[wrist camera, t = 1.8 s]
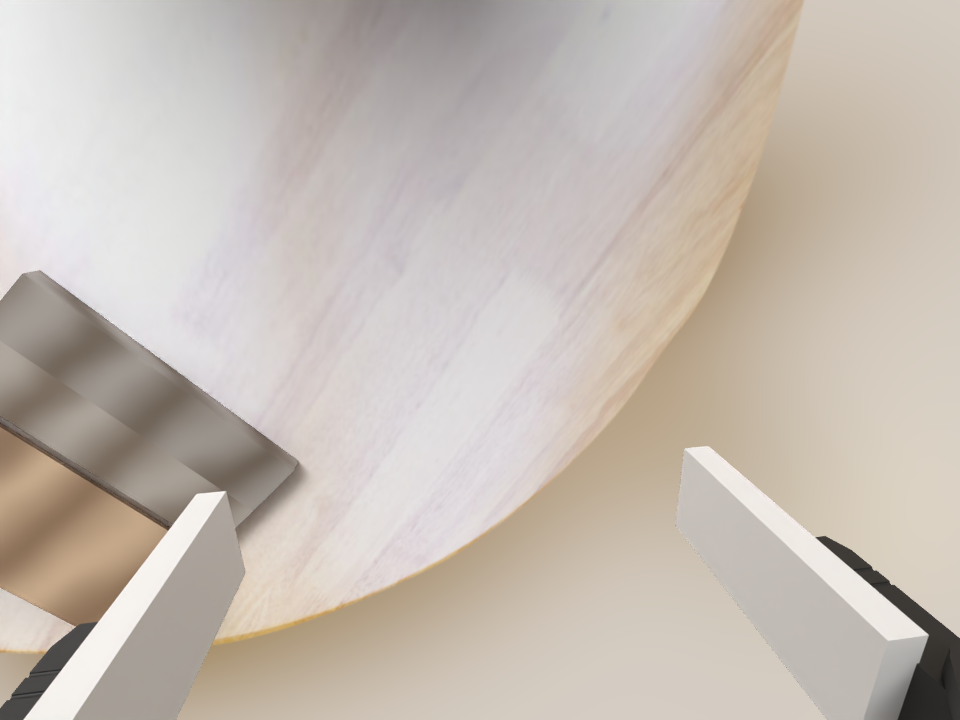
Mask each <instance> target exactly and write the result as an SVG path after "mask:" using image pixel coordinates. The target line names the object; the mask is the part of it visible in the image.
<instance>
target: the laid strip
mask: <svg viewBox="0 0 960 720" xmlns="http://www.w3.org/2000/svg"><path fill="white" fill-rule="evenodd" d="M0 416H1V417H2V418H4V419H5V420H7V421H9V422H10V423H12V424H13V425H15V426H17V427H18V428H20V429H21V430H23V431H25V432H26V433H28V434H29V435H31V436H33V437H34V438H36V439H37V440H39V441H41V442H42V443H44V444H45V445H47V446H49V447H50V448H52V449H53V450H55V451H57V452H58V453H60V454H61V455H63V456H65V457H66V458H68V459H69V460H71V461H72V462H74V463H76V464H77V465H79V466H80V467H82V468H84V469H85V470H87V471H88V472H90V473H92V474H93V475H95V476H96V477H98V478H100V479H101V480H103V481H104V482H106V483H108V484H109V485H111V486H112V487H114V488H116V489H117V490H119V491H120V492H122V493H124V494H125V495H127V496H128V497H130V498H132V499H133V500H135V501H136V502H138V503H140V504H141V505H143V506H144V507H146V508H148V509H149V510H151V511H152V512H154V513H156V514H157V515H159V516H160V517H162V518H164V519H165V520H167V521H168V522H170V523H172V524H174V523H175V521H176V520H177V519H178V518H179V516H180V515H181V514H182V512H183V511H184V510H185V508H186V507H187V506H188V504H189V503H190V502H191V501H192V499H193V498H194V497H195V495H196V494H200V493H211V492H222V491H226V492H227V497H228V501H229V505H230V509H231V513H232V517H233V522H234V526H235V528H236V527H237V526H238V525H239V524H240V523H241V522H242V521H243V520H244V519H246V518H247V517H248V516H249V515H250V514H251V513H252V512H253V511H254V510H255V509H256V508H257V507H258V506H259V505H260V504H261V503H262V502H263V501H264V500H265V499H266V498H267V497H268V496H269V495H270V494H271V493H272V492H273V491H274V490H275V489H276V488H277V487H278V486H279V485H280V484H281V483H282V482H283V481H284V480H285V479H286V478H287V477H288V476H289V475H290V474H291V473H292V472H293V471H294V469H295V467H296V465H297V463H298V461H297V460H296V459H295V458H293V457H292V456H291V455H289V454H288V453H287V452H285V451H284V450H282V449H281V448H280V447H278V446H277V445H276V444H274V443H273V442H272V441H270V440H269V439H268V438H266V437H265V436H263V435H262V434H261V433H259V432H258V431H257V430H255V429H254V428H253V427H251V426H250V425H249V424H247V423H246V422H244V421H243V420H242V419H240V418H239V417H238V416H236V415H235V414H234V413H232V412H231V411H230V410H228V409H227V408H226V407H224V406H223V405H221V404H220V403H219V402H217V401H216V400H215V399H213V398H212V397H211V396H209V395H208V394H207V393H205V392H204V391H202V390H201V389H200V388H198V387H197V386H196V385H194V384H193V383H192V382H190V381H189V380H188V379H186V378H185V377H183V376H182V375H181V374H179V373H178V372H177V371H175V370H174V369H173V368H171V367H170V366H169V365H167V364H166V363H164V362H163V361H162V360H160V359H159V358H158V357H156V356H155V355H154V354H152V353H151V352H150V351H148V350H147V349H145V348H144V347H143V346H141V345H140V344H139V343H137V342H136V341H135V340H133V339H132V338H131V337H129V336H128V335H127V334H125V333H124V332H122V331H121V330H120V329H118V328H117V327H116V326H114V325H113V324H112V323H110V322H109V321H108V320H106V319H105V318H103V317H102V316H101V315H99V314H98V313H97V312H95V311H94V310H93V309H91V308H90V307H89V306H87V305H86V304H84V303H83V302H82V301H80V300H79V299H78V298H76V297H75V296H74V295H72V294H71V293H70V292H68V291H67V290H65V289H64V288H63V287H61V286H60V285H59V284H57V283H56V282H55V281H53V280H52V279H51V278H49V277H48V276H47V275H45V274H44V273H42V272H41V271H35V272H29V273H24V274H22V275H21V276H20V277H19V279H18V280H17V281H16V282H15V284H14V285H13V286H12V287H11V288H10V290H9V291H8V292H7V293H6V295H5V296H4V297H3V298H2V299H1V301H0Z"/></svg>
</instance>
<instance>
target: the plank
mask: <svg viewBox="0 0 960 720" xmlns="http://www.w3.org/2000/svg"><path fill="white" fill-rule="evenodd" d="M169 529H170V528H169V527H167V526H166V525H164V524H162V523H161V522H159V521H158V520H156V519H154V518H153V517H151V516H149V515H148V514H146V513H145V512H143V511H141V510H140V509H138V508H137V507H135V506H133V505H132V504H130V503H129V502H127V501H125V500H124V499H122V498H121V497H119V496H117V495H116V494H114V493H112V492H111V491H109V490H108V489H106V488H104V487H103V486H101V485H100V484H98V483H96V482H95V481H93V480H92V479H90V478H88V477H87V476H85V475H83V474H82V473H80V472H79V471H77V470H75V469H74V468H72V467H71V466H69V465H67V464H66V463H64V462H63V461H61V460H59V459H58V458H56V457H54V456H53V455H51V454H50V453H48V452H46V451H45V450H43V449H42V448H40V447H38V446H37V445H35V444H34V443H32V442H30V441H29V440H27V439H26V438H24V437H22V436H21V435H19V434H17V433H16V432H14V431H13V430H11V429H9V428H8V427H6V426H5V425H3V424H1V423H0V588H2V589H4V590H6V591H8V592H10V593H12V594H14V595H16V596H18V597H19V598H21V599H23V600H25V601H27V602H29V603H31V604H33V605H35V606H37V607H39V608H41V609H43V610H45V611H47V612H49V613H51V614H52V615H54V616H56V617H58V618H60V619H62V620H64V621H66V622H68V623H70V624H72V625H74V626H76V627H77V626H78V625H79V624H83V623H92V622H99V621H100V619H101V618H102V617H103V615H104V614H105V613H106V612H107V610H108V609H109V608H110V606H111V605H112V604H113V602H114V601H115V600H116V598H117V597H118V596H119V595H120V593H121V592H122V591H123V589H124V588H125V587H126V585H127V584H128V583H129V581H130V580H131V579H132V578H133V576H134V575H135V574H136V572H137V571H138V570H139V568H140V567H141V566H142V565H143V563H144V562H145V561H146V559H147V558H148V557H149V555H150V554H151V553H152V551H153V550H154V549H155V548H156V546H157V545H158V544H159V542H160V541H161V540H162V538H163V537H164V536H165V535H166V533H167V532H168V531H169Z"/></svg>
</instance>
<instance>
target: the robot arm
mask: <svg viewBox="0 0 960 720" xmlns="http://www.w3.org/2000/svg"><path fill="white" fill-rule="evenodd" d="M676 527H677V528H678V529H679V531H680V532H681V533H682V534H683V536H684V537H685V538H686V539H687V541H688V542H689V543H690V545H691V546H692V547H693V548H694V550H695V551H696V552H697V553H698V555H699V556H700V557H701V559H702V560H703V561H704V563H705V564H706V565H707V566H708V568H709V569H710V570H711V571H712V573H713V574H714V575H715V577H716V578H717V579H718V580H719V582H720V583H721V584H722V586H723V587H724V588H725V589H726V591H727V592H728V593H729V595H730V596H731V597H732V598H733V600H734V601H735V602H736V603H737V605H738V606H739V607H740V608H741V610H742V611H743V613H744V614H745V615H746V616H747V618H748V619H749V620H750V621H751V623H752V624H753V625H754V627H755V628H756V629H757V630H758V632H759V633H760V634H761V636H762V637H763V638H764V639H765V641H766V642H767V643H768V644H769V646H770V647H771V648H772V650H773V651H774V652H775V653H776V655H777V656H778V657H779V659H780V660H781V661H782V662H783V664H784V665H785V666H786V668H787V669H788V670H789V671H790V673H791V674H792V675H793V676H794V678H795V679H796V680H797V682H798V683H799V684H800V685H801V687H802V688H803V689H804V691H805V692H806V693H807V694H808V696H809V697H810V698H811V699H812V701H813V702H814V703H815V705H816V706H817V707H818V709H819V710H820V711H821V712H822V714H823V715H824V716H825V718H826V719H827V720H960V638H959V637H957V636H956V635H955V634H954V633H953V632H951V631H950V630H949V629H948V628H946V627H945V626H944V625H943V624H942V623H940V622H939V621H938V620H936V619H935V618H934V617H933V616H932V615H930V614H929V613H928V612H927V611H926V610H924V609H923V608H922V607H921V606H919V605H918V604H917V603H916V602H914V601H913V600H912V599H911V598H910V597H908V596H907V595H906V594H905V593H903V592H902V591H901V590H900V589H899V588H897V587H896V586H895V585H891V584H890V582H889V580H887V579H886V578H885V577H884V576H882V575H881V574H880V573H879V572H877V571H874V570H873V569H872V567H871V566H870V565H869V564H868V563H867V562H865V561H864V560H863V559H862V558H860V557H859V556H858V555H857V554H856V553H854V552H853V551H852V550H850V549H848V548H847V547H845V546H843V545H841V544H839V543H837V542H835V541H833V540H832V539H830V538H828V537H826V536H822V537H814V536H813V535H812V534H810V533H809V532H808V531H806V529H805V528H803V527H802V526H801V525H800V524H798V522H796V521H795V520H794V519H793V518H792V517H790V516H789V515H788V514H787V513H786V512H785V511H783V510H782V509H781V508H780V507H779V506H778V505H777V504H775V503H774V502H773V501H772V500H771V499H770V498H768V497H767V496H766V495H765V494H764V493H763V492H761V491H760V490H759V489H758V488H757V487H755V486H754V485H753V484H752V483H751V482H750V481H748V480H747V479H746V478H745V477H744V476H743V475H742V474H740V473H739V472H738V471H737V470H736V469H734V468H733V467H732V466H731V465H730V464H728V463H727V462H726V461H725V460H724V459H723V458H722V457H721V456H719V455H718V454H717V453H716V452H715V451H713V450H712V449H711V448H710V447H709V446H705V447H694V448H684V455H683V465H682V472H681V482H680V490H679V499H678V508H677V516H676ZM245 573H246V572H245V567H244V563H243V559H242V555H241V551H240V547H239V542H238V538H237V534H236V530H235V526H234V522H233V517H232V513H231V509H230V505H229V501H228V497H227V492H226V491H222V492H211V493H200V494H196V495H195V497H194V498H193V499H192V501H191V502H190V503H189V504H188V506H187V507H186V508H185V510H184V511H183V512H182V514H181V515H180V516H179V518H178V519H177V520H176V521H175V523H174V524H173V525H172V527H171V528H170V529H169V531H168V532H167V533H166V535H165V536H164V537H163V538H162V540H161V541H160V542H159V544H158V545H157V546H156V548H155V549H154V550H153V551H152V553H151V554H150V555H149V557H148V558H147V559H146V561H145V562H144V563H143V565H142V566H141V567H140V568H139V570H138V571H137V572H136V574H135V575H134V576H133V578H132V579H131V580H130V581H129V583H128V584H127V585H126V587H125V588H124V589H123V591H122V592H121V593H120V595H119V596H118V597H117V598H116V600H115V601H114V602H113V604H112V605H111V606H110V608H109V609H108V610H107V612H106V613H105V614H104V615H103V617H102V618H101V619H100V621H99V622H92V623H83V624H79V625H78V626H77V627H75V628H74V629H73V630H72V631H71V632H69V633H68V634H67V635H66V636H64V637H63V638H62V639H61V640H59V641H58V642H57V643H56V644H54V645H53V646H52V647H51V648H50V649H49V650H48V651H47V653H46V654H45V655H44V656H43V658H42V659H41V660H40V661H39V662H38V664H37V665H36V666H35V667H34V668H33V670H32V671H31V672H30V676H29V678H25V679H24V680H23V682H22V683H21V684H20V685H19V686H18V688H17V689H16V690H15V692H14V693H13V694H12V697H11V699H10V700H7V701H6V702H5V703H4V705H3V706H2V707H1V708H0V720H176V718H177V717H178V714H179V712H180V710H181V708H182V706H183V704H184V702H185V700H186V698H187V695H188V693H189V691H190V689H191V687H192V685H193V683H194V681H195V679H196V677H197V674H198V672H199V670H200V668H201V666H202V664H203V662H204V660H205V657H206V655H207V653H208V651H209V649H210V647H211V645H212V643H213V641H214V638H215V636H216V634H217V632H218V630H219V628H220V626H221V624H222V622H223V619H224V617H225V615H226V613H227V611H228V609H229V607H230V605H231V602H232V600H233V598H234V596H235V594H236V592H237V590H238V588H239V586H240V583H241V581H242V579H243V577H244V575H245Z"/></svg>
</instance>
